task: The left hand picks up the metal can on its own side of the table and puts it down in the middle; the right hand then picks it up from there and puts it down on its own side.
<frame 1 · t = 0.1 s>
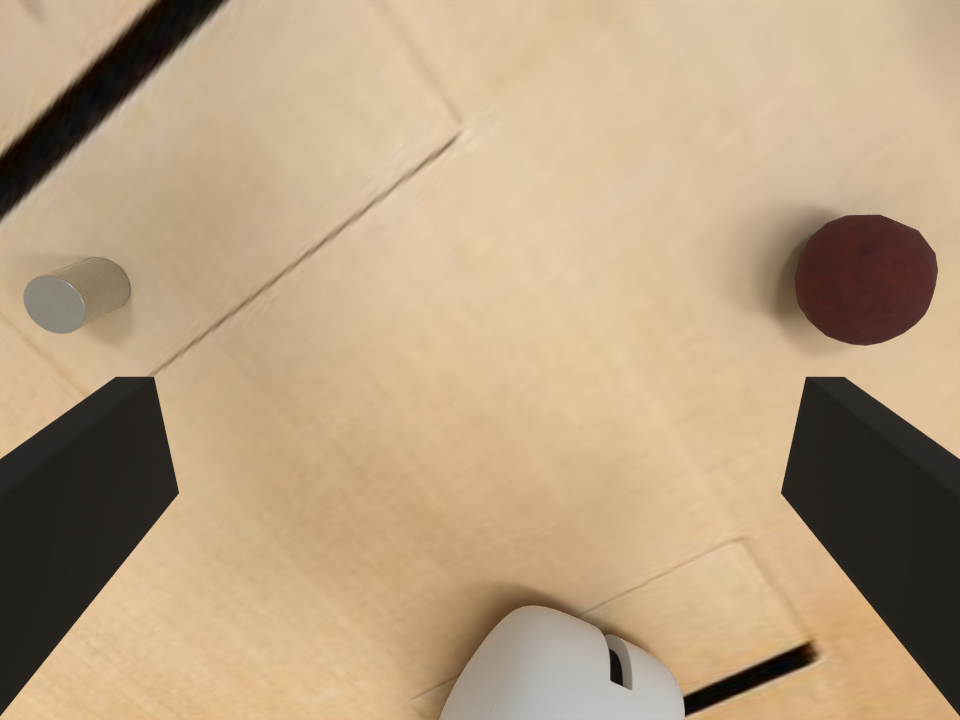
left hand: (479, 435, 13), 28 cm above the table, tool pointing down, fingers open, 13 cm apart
projector: (532, 692, 54), on the table
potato: (829, 264, 40), on the table
can: (103, 283, 40), on the table
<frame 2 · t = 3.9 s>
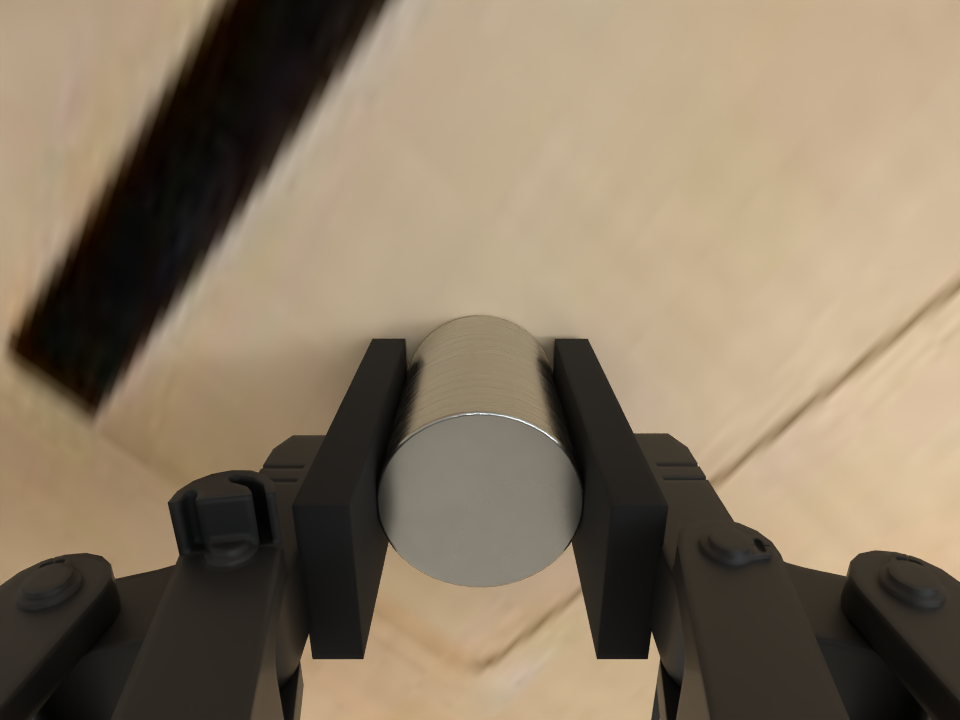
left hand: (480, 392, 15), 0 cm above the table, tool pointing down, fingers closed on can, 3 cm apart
can: (480, 384, 15), on the table, touching left hand
when the left hand's fingers open (1 cm above the table, at t = 16.5 s): can stays where it is, on the table.
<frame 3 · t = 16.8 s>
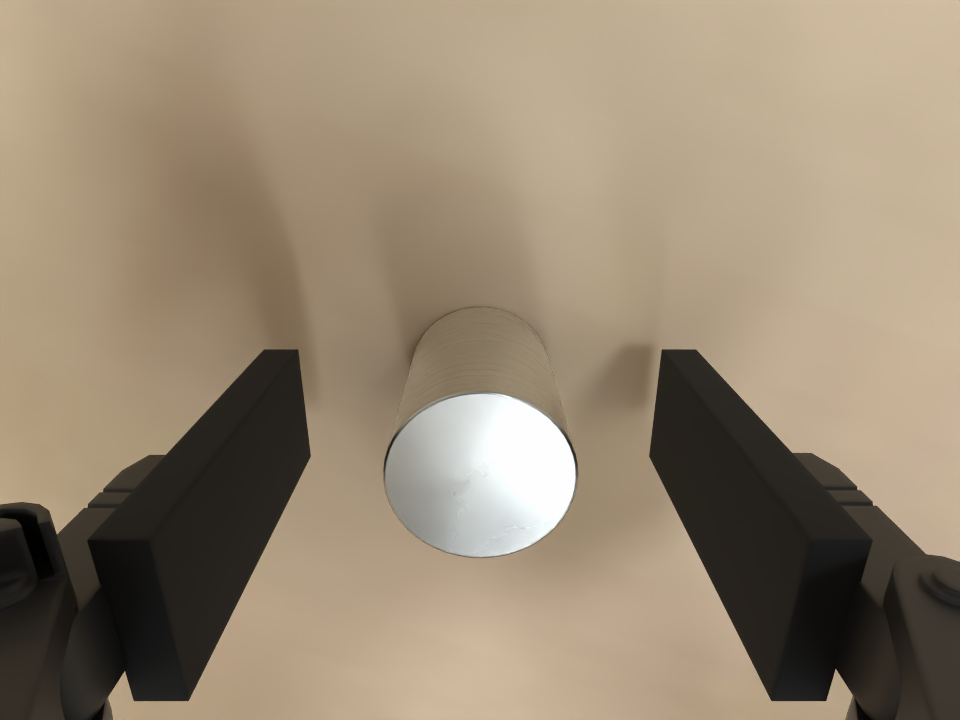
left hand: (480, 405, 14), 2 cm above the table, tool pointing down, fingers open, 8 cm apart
can: (480, 372, 15), on the table
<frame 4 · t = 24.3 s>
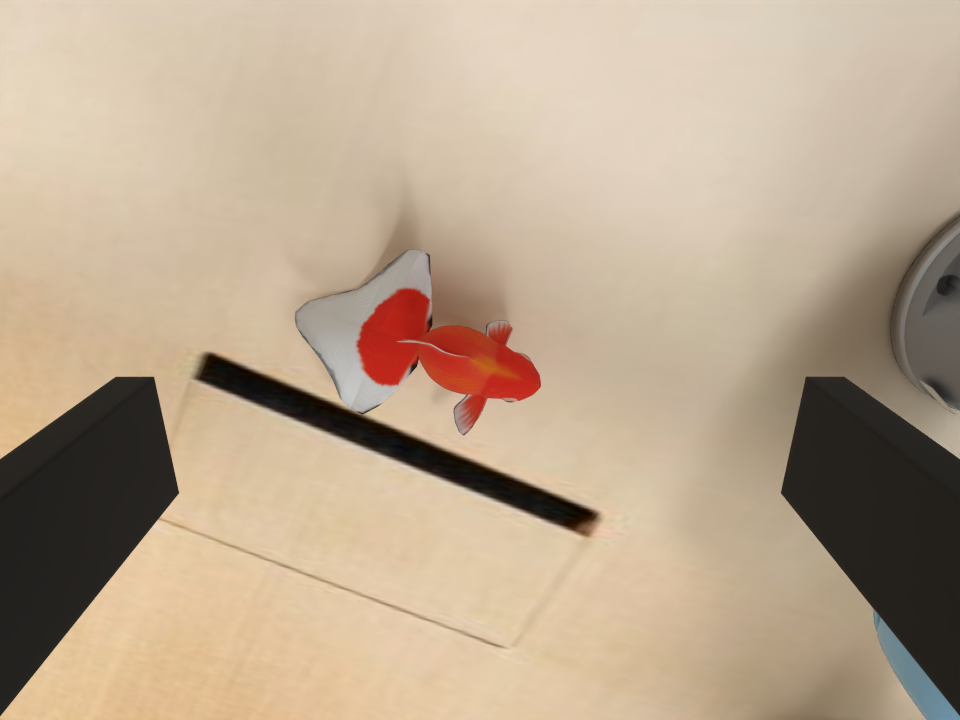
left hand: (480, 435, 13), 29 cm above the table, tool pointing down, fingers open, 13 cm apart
fish: (420, 327, 42), on the table
when the right hand's fingers open (2 cm above the table, at t = 34.6 s): can stays where it is, on the table.
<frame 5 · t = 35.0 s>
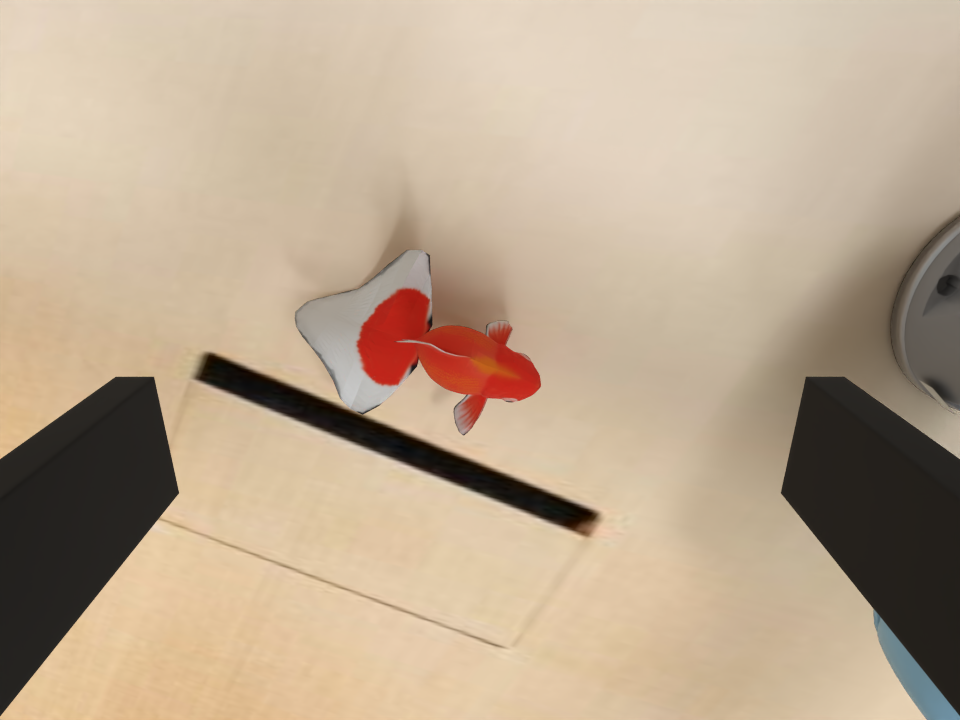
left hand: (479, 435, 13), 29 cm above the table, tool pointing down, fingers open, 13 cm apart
fish: (420, 327, 42), on the table
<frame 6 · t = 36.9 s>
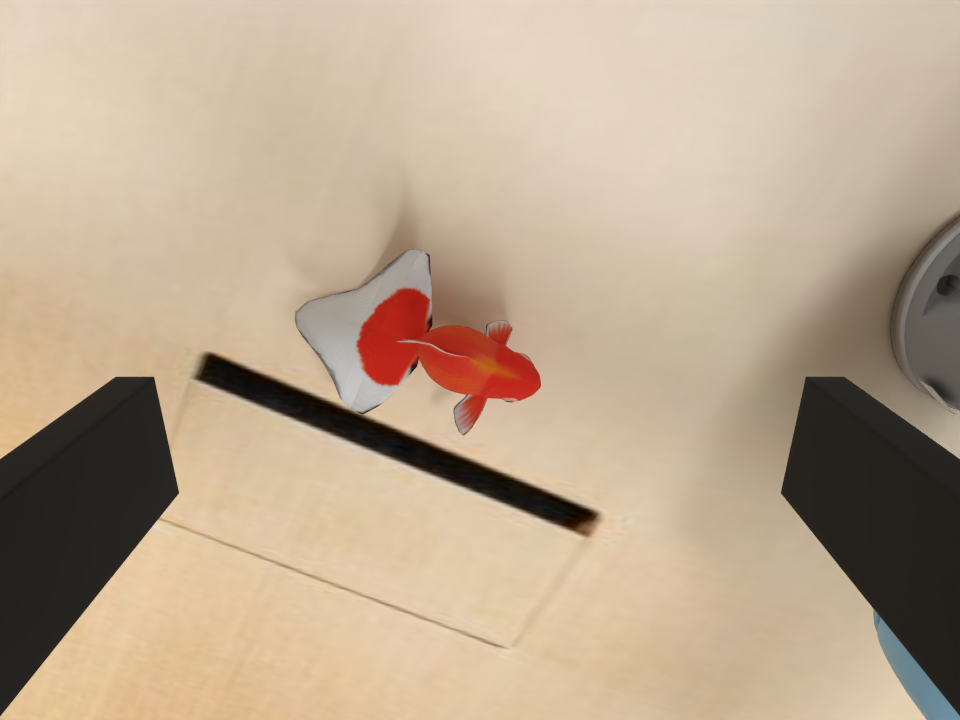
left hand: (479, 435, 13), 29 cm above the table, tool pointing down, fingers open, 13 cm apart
fish: (420, 327, 42), on the table
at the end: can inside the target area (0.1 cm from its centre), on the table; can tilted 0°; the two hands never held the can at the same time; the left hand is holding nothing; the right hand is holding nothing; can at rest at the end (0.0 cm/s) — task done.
